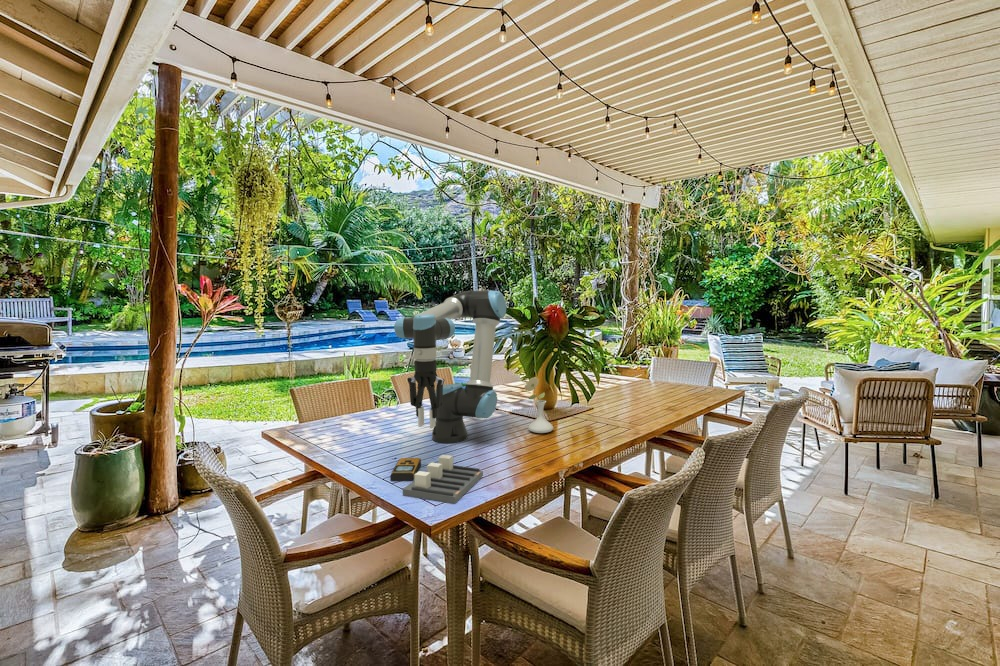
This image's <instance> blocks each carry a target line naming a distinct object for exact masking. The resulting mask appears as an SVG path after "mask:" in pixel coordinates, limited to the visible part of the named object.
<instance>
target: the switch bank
mask: <svg viewBox="0 0 1000 666" xmlns="http://www.w3.org/2000/svg"><path fill="white" fill-rule="evenodd" d="M442 474H443V477H442V478H441V479H436V478H431V487H430V488H428V489H427V488H420V487H415V479H413V481H411V482H410V483H409V484H408V485H406V486H405V487H404V488H402V496H404V497H405V496H406V497H411V498H418V499H423V500H429V501H434V502H435V501H437V502H442V503H447V504H448V503H449V504H454V505H455V504H457V502H458V501H459V500H461V498H463V496H465V494H467V493H468V492H469V491H468V490H469V489H470V488H471V487H472V486H473V485H474V484H475V483H476V482H477V481H478V480H479V479H480V478H481V477H482V476H483V477H484V470H481V469H480V468H476V467H468V466H464V465H463V466H461V465H454V464H453V469H452V470H446V469H442ZM483 477H482V478H483ZM482 478H481V479H482ZM481 479H480V480H481ZM480 480H479V481H480ZM479 481H478V482H479ZM478 482H477V483H478ZM477 483H476V484H477ZM476 484H475V485H476ZM475 485H474V486H475ZM474 486H473V487H474ZM473 487H472V488H473ZM472 488H471V489H472ZM471 489H470V490H471ZM467 491H468V492H467Z"/></svg>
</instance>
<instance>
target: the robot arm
mask: <svg viewBox="0 0 1000 666" xmlns="http://www.w3.org/2000/svg"><path fill="white" fill-rule="evenodd" d="M506 314H507V302H506V298H505V297H504V295H503V293H502V292H501V291H499V290H491V289H489V290H468V291H467V290H466V291H462V292H459V293H457V294H454V295H452V296H449V297H447V298H445V300H444V301H443V302H441V303H440V304H438V305H436V306H433V307H431V308H428V309H426V310H424V311H423V312H420V313H417V314H415V315H413V316H411V317H402V318H401V317H400V318H398V319H396V320H395V322H394V325H393V326H394V327H393V329H394V334H395V335H396V337H397V338H400V339H409V340H410V339H411V340H413V359H414V363H413V364H414V375H413V376H411V377H408V378H407V382H408V383H407V384H408V387H409V397H410V398H409V401H410V405H411V407H415V416H416V418H417V420H418V428H422V427H423V426H425V407H424V406H423V400H424V399H423V398H424V392H425V388H426V390H427V391H428V393H427V394H428V397H429V401H430V409H429V411H428V412H429V429H433V430H432V432H431V440H432V441H433V442H436V443H439V444H441V443H442V444H455V443H461V442H463V441H465V440H467V439H468V431H467V428H466V425H465V422H464V417H468V418H475V419H488V418H490V417H491V416H492V415H493V414H494V412H495V410H496V408H497V404H498V395H497V392H496V391H495V390H494V386H493V385H492V383H491V377H492V376H491V375H492V367H493V356H494V346H495V340H496V339H495V336H496V328H497V326H499V324H500V323H501V319H504V318H505V317H506ZM459 318H472V321H473V323H474V324H475V328H474V329H475V330H474V338H473V348H472V358H471V367H470V374H469V381H468V382H466V383H465V387H464V386H463V384H462V383H450V384H449V383H447V384H444V383H445V378H441V377H438V374H437V360H436V359H437V341H439V340H440V341H441V340H447V339H450V338H452V337H453V335H455V331H456V325H455V323H454V321H453V320H457V319H459ZM416 382H417V383H416ZM435 383H436V385H435ZM435 387H436V388H435ZM463 387H464V388H463Z"/></svg>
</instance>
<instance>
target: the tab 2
mask: <svg viewBox="0 0 1000 666" xmlns="http://www.w3.org/2000/svg"><path fill="white" fill-rule="evenodd" d="M426 472H430V473H431V478H436V479H441V478H442V477H443V474H442V464H440V463H439V462H438V463H437V462H430V463H428V465H426Z"/></svg>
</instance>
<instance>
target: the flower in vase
mask: <svg viewBox="0 0 1000 666" xmlns="http://www.w3.org/2000/svg"><path fill="white" fill-rule="evenodd" d="M539 381H540V379H539V377H536V376H534V377H531V378H530V379H528V381H526V384H525V385H524V391H526V392H531V391H533V390H534V393H535V394H532V395H530V396H529V398H528V400H534V402H535V404H536V405H537V418H535V419H534V420H533V421H532V422H531V423H530V424H529V425H528V427H527V429H528V430H529V431H531V432H533V433H536V434H537V433H538V434H546V433H549V432H552V431H553V430H554V426H553V424H552V423H550V421H548V420H547V419H546V418H545V416H544V407H545V405H546V403H547V400H544V399H543V398H544V397H545V395H546V393H545V391H544V392H542V393H540V394H539V395H538V394H537V391H536V387H537V386H538V385H539ZM536 398H537V400H535V399H536Z"/></svg>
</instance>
